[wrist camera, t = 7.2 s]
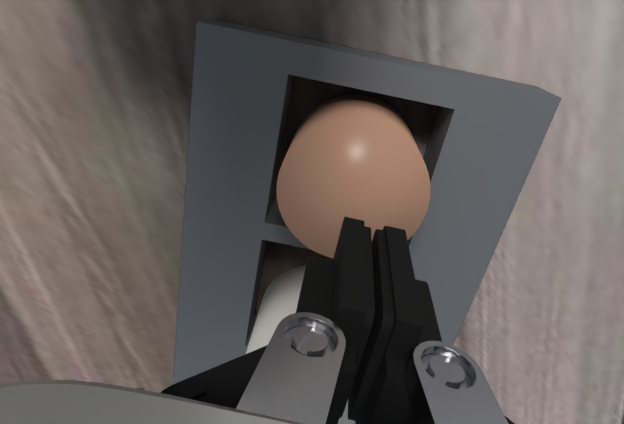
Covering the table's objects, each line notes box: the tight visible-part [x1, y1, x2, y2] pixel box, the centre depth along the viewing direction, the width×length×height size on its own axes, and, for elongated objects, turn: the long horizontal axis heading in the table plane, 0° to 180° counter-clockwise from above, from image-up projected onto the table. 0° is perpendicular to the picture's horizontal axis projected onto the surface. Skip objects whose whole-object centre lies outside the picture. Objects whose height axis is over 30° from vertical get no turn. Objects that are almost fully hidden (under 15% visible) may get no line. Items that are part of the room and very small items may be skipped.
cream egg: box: [246, 266, 355, 424], centre depth 19 cm, size 6×6×4 cm
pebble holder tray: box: [173, 19, 561, 384], centre depth 23 cm, size 14×24×2 cm, turn 169°
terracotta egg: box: [276, 95, 431, 258], centre depth 18 cm, size 6×6×4 cm
